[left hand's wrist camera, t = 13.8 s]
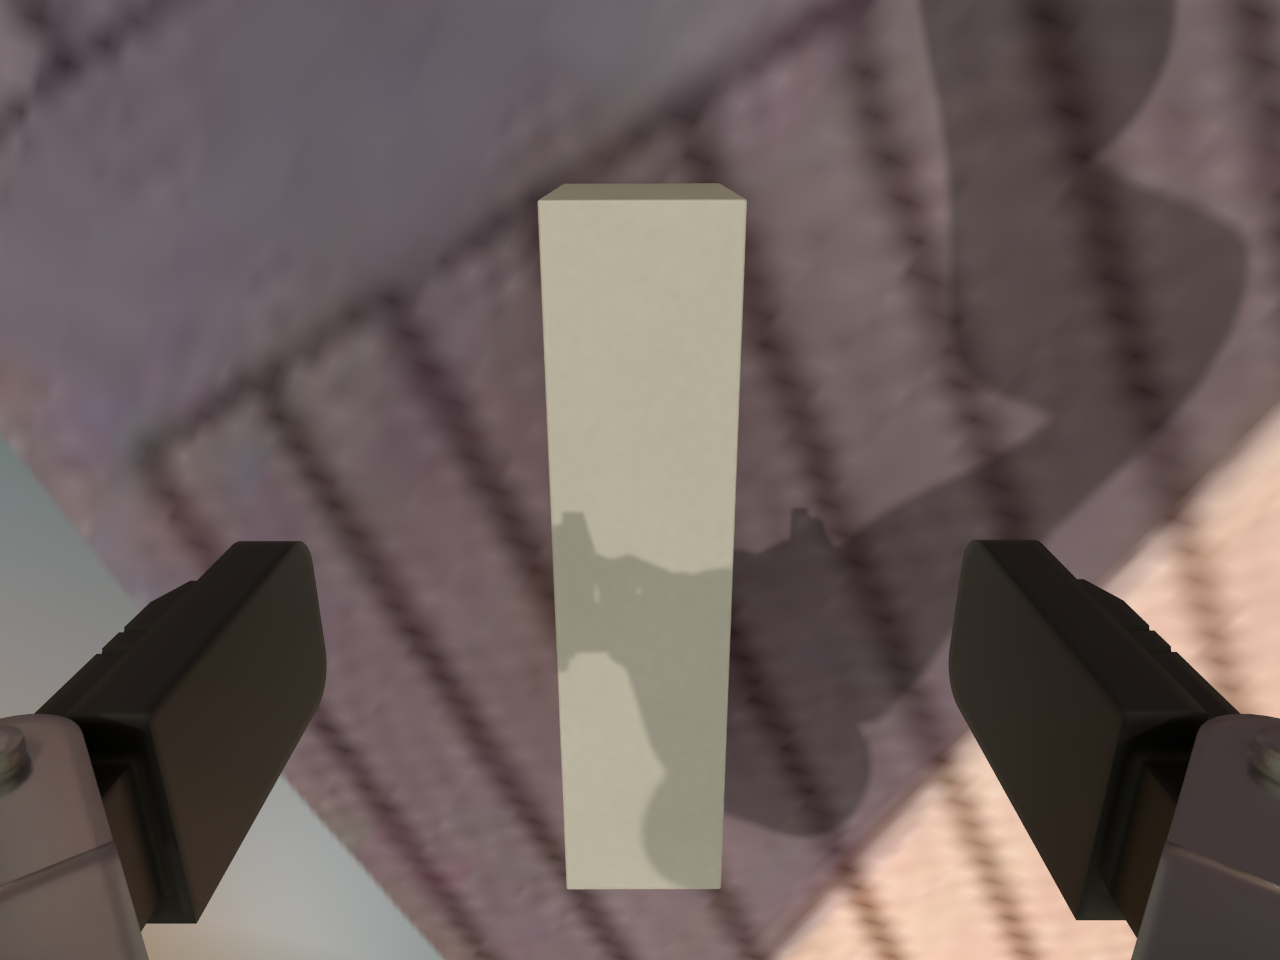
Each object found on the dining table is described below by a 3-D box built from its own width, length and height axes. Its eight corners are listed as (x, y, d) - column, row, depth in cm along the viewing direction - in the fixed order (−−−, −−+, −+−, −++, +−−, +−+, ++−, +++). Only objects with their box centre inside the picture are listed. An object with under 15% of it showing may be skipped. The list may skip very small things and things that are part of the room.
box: (562, 183, 36) (537, 199, 27) (720, 183, 36) (747, 198, 27) (580, 743, 45) (566, 889, 36) (705, 742, 45) (720, 889, 36)
